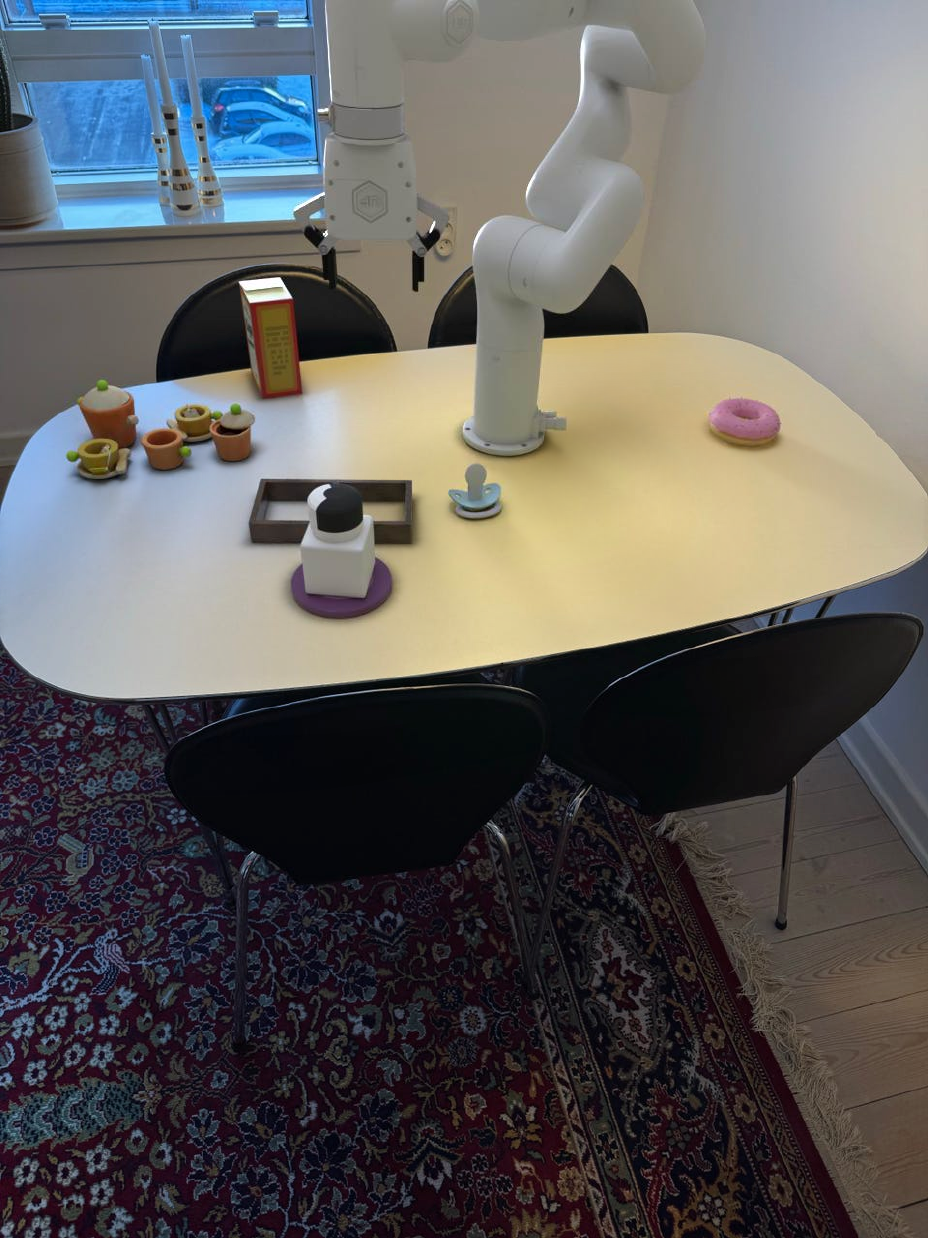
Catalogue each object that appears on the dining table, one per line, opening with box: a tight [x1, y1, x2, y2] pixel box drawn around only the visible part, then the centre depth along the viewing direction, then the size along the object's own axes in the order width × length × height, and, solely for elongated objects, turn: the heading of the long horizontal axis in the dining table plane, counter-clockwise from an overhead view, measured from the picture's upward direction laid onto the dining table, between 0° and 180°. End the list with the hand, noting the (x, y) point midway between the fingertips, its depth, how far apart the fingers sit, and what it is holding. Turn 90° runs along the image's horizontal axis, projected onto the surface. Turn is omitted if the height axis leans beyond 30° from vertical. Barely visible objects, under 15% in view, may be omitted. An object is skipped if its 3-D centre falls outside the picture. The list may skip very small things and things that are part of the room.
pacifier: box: [447, 462, 503, 519], centre depth 114 cm, size 7×6×6 cm
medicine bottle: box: [299, 483, 376, 598], centre depth 98 cm, size 7×7×12 cm
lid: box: [290, 556, 393, 619], centre depth 103 cm, size 12×12×1 cm
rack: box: [248, 478, 413, 544], centre depth 112 cm, size 20×11×3 cm, turn 92°
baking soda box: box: [238, 277, 303, 400], centre depth 138 cm, size 10×6×16 cm
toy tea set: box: [65, 379, 256, 480], centre depth 123 cm, size 26×16×10 cm, turn 106°
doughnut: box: [708, 396, 782, 447], centre depth 134 cm, size 11×11×4 cm
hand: (374, 286), depth 100 cm, fingers open, 9 cm apart
